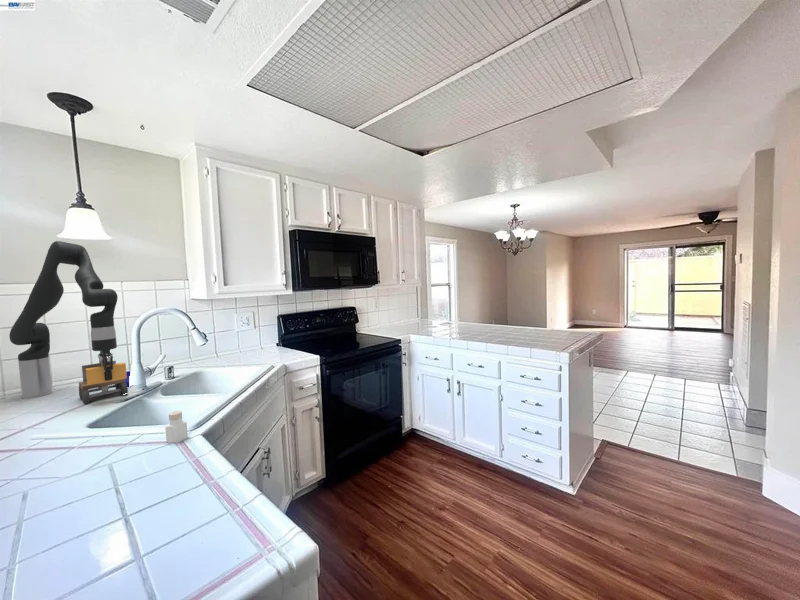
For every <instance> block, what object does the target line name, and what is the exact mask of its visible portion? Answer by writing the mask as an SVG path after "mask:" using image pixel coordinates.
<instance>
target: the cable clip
mask: <svg viewBox="0 0 800 600" xmlns="http://www.w3.org/2000/svg"><path fill="white" fill-rule="evenodd" d="M130 371H131V370H128V371H127V370H126V373H127V378H125V379H126V384H127V387H129V376H130Z"/></svg>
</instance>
